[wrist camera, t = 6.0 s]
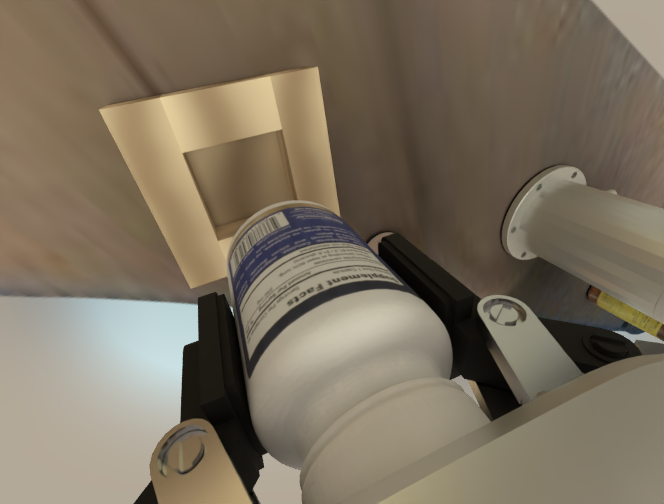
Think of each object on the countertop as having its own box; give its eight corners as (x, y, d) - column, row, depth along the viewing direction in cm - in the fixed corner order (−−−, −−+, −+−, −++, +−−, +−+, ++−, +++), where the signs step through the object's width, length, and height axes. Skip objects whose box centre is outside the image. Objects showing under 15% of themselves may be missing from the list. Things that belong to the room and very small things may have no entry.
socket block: (304, 66, 23) (317, 66, 20) (330, 223, 30) (343, 237, 28) (109, 104, 20) (98, 109, 17) (190, 268, 27) (190, 288, 25)
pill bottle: (343, 297, 16) (492, 530, 8) (230, 316, 14) (277, 645, 6) (356, 193, 13) (596, 381, 5) (219, 198, 11) (276, 501, 3)
